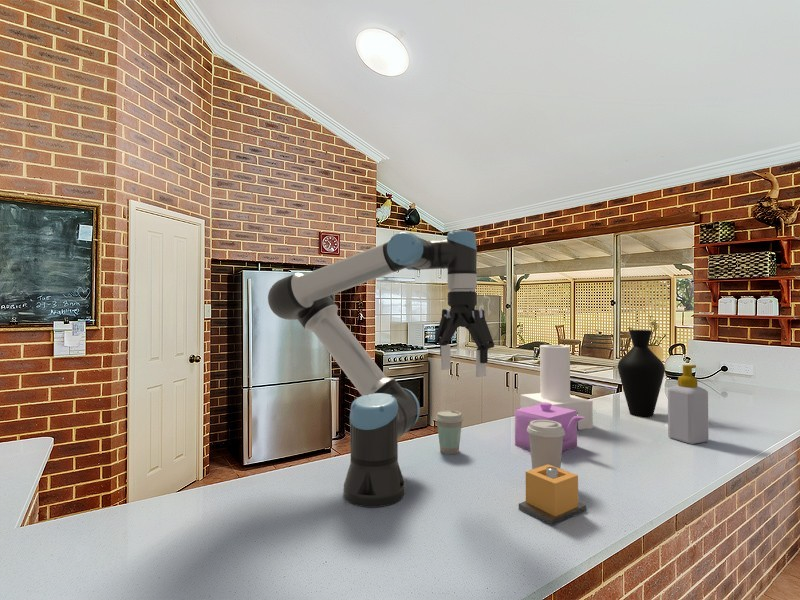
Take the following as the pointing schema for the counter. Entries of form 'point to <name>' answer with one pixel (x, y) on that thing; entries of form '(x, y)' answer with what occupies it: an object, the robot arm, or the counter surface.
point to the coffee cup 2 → (545, 443)
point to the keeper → (546, 516)
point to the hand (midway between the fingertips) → (462, 372)
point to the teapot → (546, 412)
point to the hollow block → (552, 490)
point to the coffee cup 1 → (449, 430)
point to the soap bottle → (688, 409)
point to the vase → (641, 375)
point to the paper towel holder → (558, 385)
